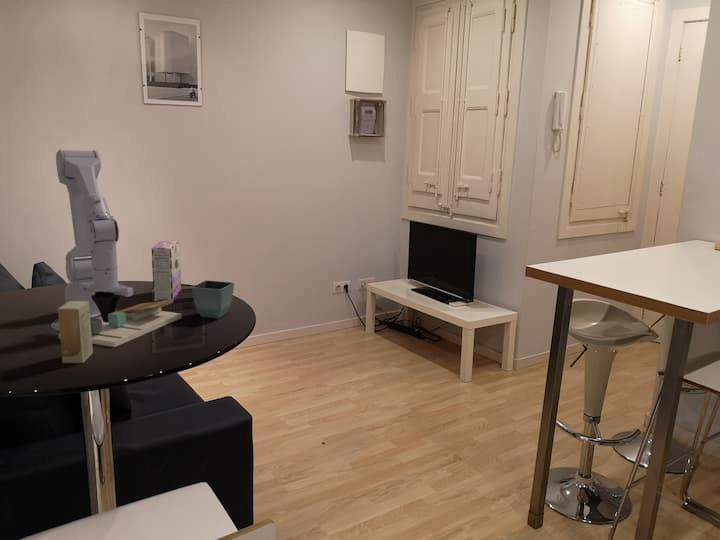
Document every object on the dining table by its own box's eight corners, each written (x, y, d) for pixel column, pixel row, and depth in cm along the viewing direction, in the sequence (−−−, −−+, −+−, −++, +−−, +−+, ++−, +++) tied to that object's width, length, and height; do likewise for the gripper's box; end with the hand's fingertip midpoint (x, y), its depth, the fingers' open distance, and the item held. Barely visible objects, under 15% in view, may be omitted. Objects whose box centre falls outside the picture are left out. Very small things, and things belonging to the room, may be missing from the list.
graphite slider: (84, 333, 138) (83, 321, 137) (93, 330, 140) (92, 318, 140) (94, 334, 137) (93, 322, 136) (102, 331, 139) (101, 319, 139)
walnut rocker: (117, 314, 151) (116, 311, 151) (140, 306, 159) (139, 303, 159) (151, 310, 147) (151, 307, 147) (173, 302, 156) (172, 299, 156)
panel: (59, 338, 138) (58, 325, 137) (132, 311, 162) (131, 300, 162) (114, 347, 133) (113, 333, 133) (181, 317, 158) (181, 306, 157)
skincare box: (73, 353, 129) (69, 300, 126) (93, 353, 129) (90, 300, 126) (61, 364, 122) (56, 308, 120) (82, 363, 123) (78, 308, 120)
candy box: (163, 290, 187) (161, 240, 184) (181, 290, 188) (180, 240, 185) (152, 301, 174) (150, 247, 170) (173, 301, 174) (171, 247, 171)
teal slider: (108, 325, 144) (107, 314, 143) (116, 322, 146) (115, 311, 146) (117, 327, 143) (117, 315, 142) (125, 324, 146) (125, 312, 145)
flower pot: (222, 321, 155) (221, 289, 154) (191, 319, 157) (190, 286, 155) (235, 313, 164) (234, 282, 162) (206, 310, 165) (205, 280, 164)
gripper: (68, 268, 141) (72, 322, 144) (117, 273, 137) (120, 329, 139) (90, 263, 148) (93, 315, 150) (137, 268, 143) (140, 321, 146)
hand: (108, 321), depth 145 cm, fingers closed
